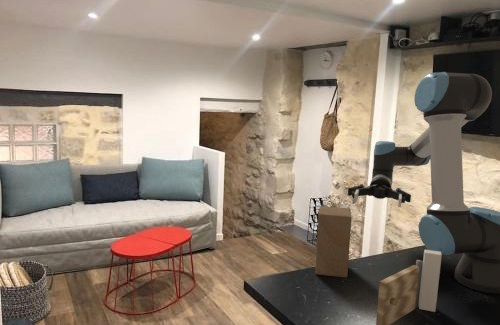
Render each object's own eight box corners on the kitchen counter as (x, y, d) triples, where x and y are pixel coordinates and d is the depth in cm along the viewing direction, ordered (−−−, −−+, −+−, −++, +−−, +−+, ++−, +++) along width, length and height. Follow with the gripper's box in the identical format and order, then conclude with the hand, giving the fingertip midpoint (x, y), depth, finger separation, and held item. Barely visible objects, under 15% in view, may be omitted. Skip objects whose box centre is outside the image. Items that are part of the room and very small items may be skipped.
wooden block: (347, 278, 125) (351, 216, 121) (315, 274, 127) (318, 214, 123) (346, 265, 134) (350, 208, 131) (316, 262, 136) (319, 205, 133)
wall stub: (434, 307, 108) (440, 251, 106) (435, 311, 106) (441, 255, 104) (411, 303, 110) (417, 248, 108) (411, 307, 108) (417, 251, 106)
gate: (409, 306, 109) (413, 264, 107) (419, 310, 107) (423, 268, 105) (375, 326, 99) (379, 281, 97) (385, 332, 96) (390, 285, 95)
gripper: (416, 200, 143) (418, 216, 124) (345, 192, 152) (336, 207, 132) (418, 180, 142) (420, 193, 122) (346, 173, 150) (338, 184, 131)
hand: (377, 200), depth 127 cm, fingers open, 13 cm apart
